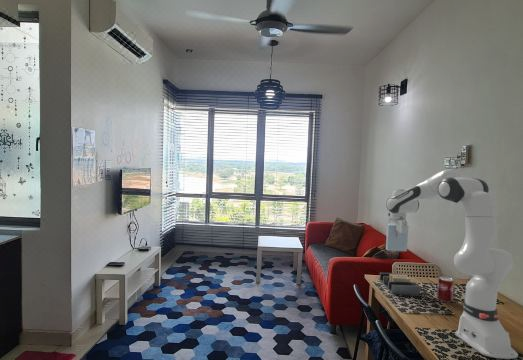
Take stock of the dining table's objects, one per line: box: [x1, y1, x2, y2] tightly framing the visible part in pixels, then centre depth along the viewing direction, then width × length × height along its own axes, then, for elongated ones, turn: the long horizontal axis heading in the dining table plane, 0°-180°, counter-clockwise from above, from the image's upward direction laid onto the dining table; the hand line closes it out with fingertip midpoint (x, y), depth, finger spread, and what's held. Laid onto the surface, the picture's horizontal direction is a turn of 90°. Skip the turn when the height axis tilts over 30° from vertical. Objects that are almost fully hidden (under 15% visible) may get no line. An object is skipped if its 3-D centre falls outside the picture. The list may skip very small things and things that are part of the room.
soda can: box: [436, 276, 455, 303], centre depth 169 cm, size 7×7×12 cm
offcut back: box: [389, 274, 409, 281], centre depth 186 cm, size 2×10×6 cm, turn 88°
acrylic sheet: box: [385, 224, 409, 252], centre depth 190 cm, size 2×12×16 cm, turn 88°
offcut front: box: [392, 276, 411, 282], centre depth 182 cm, size 2×10×6 cm, turn 88°
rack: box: [378, 272, 421, 296], centre depth 186 cm, size 22×16×5 cm
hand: (397, 237), depth 190 cm, fingers closed on acrylic sheet, 2 cm apart
